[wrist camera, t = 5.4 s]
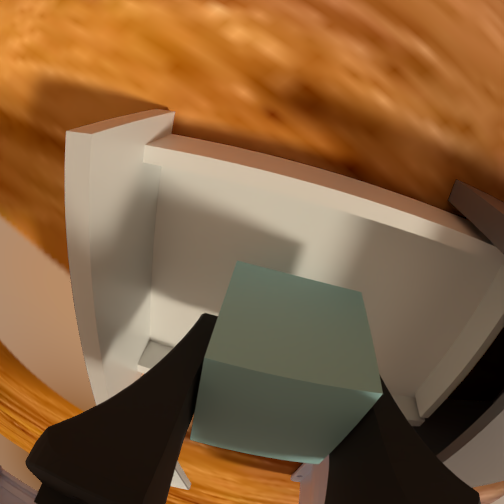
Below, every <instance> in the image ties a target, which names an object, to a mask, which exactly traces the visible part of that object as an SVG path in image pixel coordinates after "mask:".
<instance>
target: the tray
mask: <svg viewBox="0 0 504 504" xmlns="http://www.w3.org/2000/svg"><path fill="white" fill-rule="evenodd" d="M174 115H175V111H168V110H161V109H152V110H147V111H143V112H138V113H133V114H129V115H124V116H120V117H116V118H112V119H108V120H104V121H100V122H96V123H92V124H88V125H85V126H81V127H78V128H74V129H71V130H68V131H66V142H65V218H66V235H67V248H68V259H69V269H70V278H71V285H72V293H73V300H74V306H75V312H76V319H77V325H78V330H79V335H80V340H81V345H82V350H83V355H84V359H85V364H86V368H87V372H88V376H89V380H90V384H91V388H92V392H93V395H94V399H95V403H96V406H97V405H98V404H100V403H102V402H104V401H106V400H108V399H109V398H111V397H113V396H114V395H116V394H117V393H119V392H120V391H122V390H123V389H125V388H126V387H128V386H129V385H131V384H132V383H133V382H135V381H136V380H137V379H139V378H140V377H141V375H142V373H144V374H145V373H146V372H148V371H149V370H150V369H151V368H153V367H154V366H155V365H156V364H157V363H158V362H159V361H160V360H161V359H162V358H164V357H165V356H166V355H167V354H168V353H169V352H170V351H171V350H172V349H173V348H174V347H175V346H176V345H177V344H178V343H179V342H180V341H181V340H182V339H183V337H184V336H185V335H186V334H187V333H188V332H189V331H190V329H191V328H192V327H193V326H194V324H195V323H196V322H197V320H198V319H199V317H200V316H201V314H204V313H208V314H211V315H215V316H218V315H219V312H220V309H221V306H222V303H223V300H224V297H225V294H226V291H227V289H228V286H229V283H230V280H231V277H232V274H233V271H234V268H235V265H236V262H237V261H241V262H245V263H249V264H252V265H256V266H260V267H264V268H268V269H272V270H276V271H280V272H284V273H287V274H291V275H295V276H299V277H303V278H307V279H311V280H315V281H319V282H323V283H327V284H331V285H335V286H339V287H343V288H347V289H351V290H355V291H359V292H361V293H362V297H363V301H364V305H365V309H366V313H367V318H368V322H369V326H370V331H371V335H372V340H373V345H374V350H375V354H376V359H377V364H378V369H379V374H380V376H381V378H382V380H383V381H384V383H385V385H386V387H387V388H388V390H389V392H390V394H391V395H392V397H393V399H394V400H395V402H396V404H397V405H398V407H399V408H400V410H401V411H402V413H403V414H404V416H405V417H406V419H407V421H408V422H409V423H410V425H411V426H420V425H421V424H422V423H423V422H424V421H425V418H428V417H429V416H430V415H431V414H432V413H433V412H434V411H435V410H436V409H437V408H438V407H439V406H440V405H441V404H442V403H443V402H444V401H445V400H446V399H447V397H448V396H449V395H450V394H451V393H452V392H453V391H454V390H455V389H456V387H457V386H458V385H459V384H460V383H461V382H462V380H463V379H464V378H465V377H466V376H467V374H468V373H469V372H470V371H471V370H472V368H473V367H474V366H475V365H476V363H477V362H478V361H479V360H480V358H481V357H482V356H483V354H484V353H485V352H486V350H487V349H488V348H489V346H490V345H491V344H492V342H493V341H494V340H495V338H496V337H497V335H498V334H499V332H500V331H501V330H502V328H503V327H504V254H503V253H502V252H501V251H500V250H499V249H498V248H497V247H496V246H495V245H494V244H493V243H492V242H491V241H490V240H489V239H488V238H487V237H486V236H485V235H484V234H483V233H482V232H481V231H480V230H479V229H478V228H477V227H476V226H475V225H474V224H473V223H472V222H471V221H469V220H466V219H464V218H461V217H459V216H456V215H454V214H452V213H449V212H447V211H444V210H441V209H439V208H436V207H434V206H431V205H428V204H426V203H423V202H420V201H418V200H415V199H412V198H410V197H407V196H404V195H401V194H398V193H395V192H393V191H390V190H387V189H384V188H381V187H378V186H375V185H372V184H369V183H366V182H363V181H360V180H356V179H353V178H350V177H347V176H344V175H340V174H337V173H334V172H330V171H327V170H323V169H320V168H317V167H313V166H309V165H306V164H302V163H299V162H295V161H291V160H287V159H284V158H280V157H276V156H272V155H268V154H264V153H260V152H256V151H251V150H247V149H243V148H239V147H234V146H230V145H225V144H220V143H216V142H211V141H206V140H201V139H196V138H191V137H186V136H180V135H175V134H171V133H172V127H173V121H174Z"/></svg>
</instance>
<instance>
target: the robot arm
mask: <svg viewBox="0 0 504 504" xmlns="http://www.w3.org/2000/svg"><path fill="white" fill-rule="evenodd" d="M217 318H218V316H215V315H211V314H208V313H204V314H201V316H200V317H199V319H198V320H197V322H196V323H195V324H194V326H193V327H192V328H191V329H190V331H189V332H188V333H187V334H186V335H185V336H184V337H183V339H182V340H181V341H180V342H179V343H178V344H177V345H176V346H175V347H174V348H173V349H172V350H171V351H170V352H169V353H168V354H167V355H166V356H165V357H164V358H162V359H161V360H160V361H159V362H158V363H157V364H156V365H155V366H154V367H153V368H151V369H150V370H149V371H148V372H146V373H145V374H144V375H143V376H141V377H140V378H139V379H137V380H136V381H135V382H133V383H132V384H131V385H129V386H128V387H126V388H125V389H123V390H122V391H120V392H119V393H117V394H116V395H114V396H113V397H111V398H109V399H108V400H106V401H104V402H102V403H100V404H98V405H97V406H95V407H93V408H91V409H89V410H87V411H85V412H83V413H81V414H79V415H77V416H75V417H72V418H70V419H67V420H65V421H62V422H60V423H57V424H55V425H52V426H50V427H48V428H47V429H46V430H45V431H44V432H43V434H42V435H41V436H40V438H39V439H38V440H37V441H36V443H35V445H34V446H33V448H32V450H31V452H30V454H29V456H28V457H27V459H26V466H27V468H28V469H29V470H30V471H31V472H32V473H33V474H34V475H35V476H36V477H37V478H38V479H39V480H40V481H41V482H42V485H41V487H40V489H39V491H36V490H35V489H33V488H31V487H30V486H28V485H27V484H25V483H23V482H22V481H20V480H19V479H17V478H16V477H14V476H12V475H11V474H10V473H8V472H7V471H5V470H4V469H2V467H1V466H0V504H165V503H166V500H167V496H168V492H169V489H170V485H171V482H172V478H173V474H174V471H175V467H176V464H177V460H178V457H179V454H180V450H181V447H182V443H183V440H184V437H185V435H186V432H187V429H188V427H189V424H190V422H191V420H192V417H193V415H194V412H195V407H196V401H197V395H198V390H199V384H200V379H201V373H202V367H203V362H204V357H205V354H206V351H207V348H208V345H209V342H210V339H211V336H212V333H213V330H214V327H215V324H216V321H217ZM379 375H380V374H379ZM380 380H381V386H382V391H383V394H382V395H381V397H380V398H379V399H378V400H377V401H376V403H375V404H374V405H373V406H372V407H371V409H370V410H369V411H368V412H367V413H366V415H365V416H364V417H363V418H362V419H361V420H360V421H359V423H358V424H357V425H356V426H355V427H354V428H353V429H352V430H351V431H350V433H349V434H348V435H347V436H346V437H345V438H344V439H343V440H342V441H341V442H340V443H339V444H338V445H337V446H336V447H335V449H334V450H333V451H332V452H331V453H330V454H329V455H328V456H327V457H326V458H325V459H324V460H323V461H322V462H321V463H320V464H310V463H303V464H302V465H301V466H300V467H299V468H298V469H297V470H296V471H295V473H294V474H293V475H292V476H291V480H292V481H296V482H300V495H299V504H481V502H480V497H479V493H478V492H477V491H475V490H474V489H473V488H471V487H470V486H469V485H467V484H466V483H465V482H463V481H462V480H461V479H460V478H458V477H457V476H456V475H455V474H454V473H453V472H452V471H451V470H449V469H448V468H447V467H446V466H445V465H444V464H443V463H442V462H441V461H440V460H439V459H438V458H437V457H436V455H435V454H434V453H433V452H432V451H431V450H430V449H429V448H428V447H427V445H426V444H425V443H424V442H423V441H422V439H421V438H420V437H419V435H418V434H417V433H416V431H415V430H414V429H413V428H412V426H411V425H410V423H409V422H408V421H407V419H406V417H405V416H404V414H403V413H402V411H401V410H400V408H399V407H398V405H397V404H396V402H395V400H394V399H393V397H392V395H391V394H390V392H389V390H388V388H387V387H386V385H385V383H384V381H383V380H382V378H381V376H380Z"/></svg>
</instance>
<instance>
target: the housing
mask: <svg viewBox="0 0 504 504" xmlns="http://www.w3.org/2000/svg"><path fill="white" fill-rule="evenodd" d="M448 201H449V202H450V203H451V204H452V205H453V206H454V207H456V208H457V209H458V210H459V211H460V212H461V213H462V214H463V215H464V216H465V217H466V218H467V219H469V220H470V221H471V222H472V223H473V224H474V225H475V226H476V227H477V228H478V229H479V230H480V231H481V232H482V233H483V234H484V235H485V236H486V237H487V238H488V239H489V240H490V241H491V242H492V243H493V244H494V245H495V246H496V247H497V248H498V249H499V250H500V251H501V252H502V253H503V254H504V202H502V201H500V200H498V199H496V198H494V197H492V196H490V195H488V194H486V193H484V192H482V191H480V190H478V189H476V188H474V187H472V186H470V185H468V184H466V183H463V182H461V181H459V180H457V179H456V181H455V184H454V186H453V189H452V192H451V194H450V197H449V199H448ZM412 428H413V429H414V430H415V431H416V433H417V434H418V435H419V437H420V438H421V439H422V441H423V442H424V443H425V444H426V445H427V447H428V448H429V449H430V450H431V451H432V452H433V453H434V454H435V455H436V457H437V458H438V459H439V460H440V461H441V462H442V463H443V464H444V465H445V466H446V467H447V468H448V469H449V470H451V471H452V472H453V473H454V474H455V475H456V476H457V477H458V478H460V479H461V480H462V481H463V482H465V483H466V484H467V485H469V486H470V487H471V488H472V487H477V486H482V485H487V484H491V483H496V482H500V481H504V389H503V390H502V391H501V392H500V393H499V394H498V395H497V396H496V398H495V399H494V400H493V401H473V400H452V399H446V400H445V401H444V402H443V403H442V404H441V405H440V406H439V407H438V408H437V409H436V410H435V411H434V412H433V413H432V414H431V415H430V416H429V417H428V418H425V421H424V422H423V423H422V424H421V425H420V426H412Z"/></svg>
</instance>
